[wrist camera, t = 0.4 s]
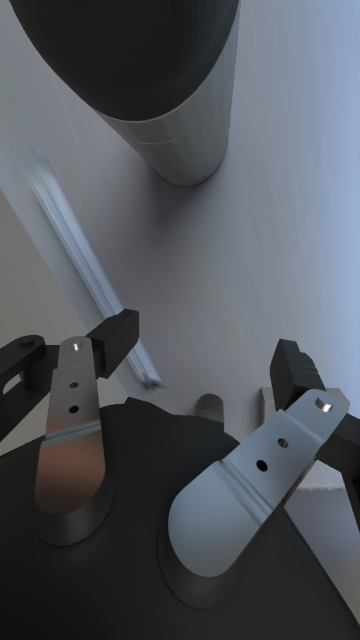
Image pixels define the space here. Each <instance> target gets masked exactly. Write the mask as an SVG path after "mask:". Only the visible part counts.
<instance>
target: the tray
mask: <svg viewBox="0 0 360 640" xmlns="http://www.w3.org/2000/svg"><path fill="white" fill-rule="evenodd" d="M325 389H326V391H327V392H328V393H330V394H331V395H333V396H335V397H336V398H337V399H338V400H340V401H341V402H342V404H343V405H344V406H345V409H346V413H348V410H349V405H350V402H349V401H348V400H347V398H346V397H345V396H344V395H343V393H342V392H341V391H340V389H339V388H325ZM275 413H276V409H275V403H274V397H273V390H272V388H261V425H262V424H263V423H265V422H266V421H267V420H268V419H269V418H270V417H271V416H272V415H274V414H275Z"/></svg>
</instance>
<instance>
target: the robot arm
mask: <svg viewBox="0 0 360 640" xmlns="http://www.w3.org/2000/svg"><path fill="white" fill-rule="evenodd" d="M9 1H10V3H11V5H12V8H13V10H14V12H15V14H16V16H17V18H18V20H19V22H20V24H21V25H22V27H23V29H24V31H25V33H26V34H27V36H28V37H29V39H30V41H31V42H32V44H33V45H34V47H35V48H36V50H37V51H38V52H39V54H40V55H41V56H42V58H43V59H44V60H45V62H46V63H47V64H48V65H49V66H50V67H51V68H52V70H53V71H54V72H55V73H56V74H57V75H58V76H59V77H60V78H61V79H62V80H63V81H64V82H65V83H66V84H67V85H68V86H69V87H70V88H71V89H72V90H73V91H74V92H75V93H76V94H77V95H78V96H79V97H80V98H81V99H82V100H84V101H85V102H86V103H87V104H88V105H89V106H90V107H91V108H92V109H93V110H94V111H95V112H96V113H97V114H98V115H99V116H100V117H101V118H102V119H103V120H104V121H105V122H107V123H108V124H109V125H110V126H111V127H112V128H113V129H114V130H115V131H116V132H117V133H118V134H119V135H120V136H121V137H122V138H123V139H124V140H125V141H126V142H127V143H128V144H129V145H130V146H131V147H132V148H133V149H134V150H135V151H136V152H138V153H139V154H140V155H141V156H142V157H143V158H144V159H145V160H146V161H147V162H148V163H149V164H150V165H151V166H152V167H153V168H154V169H155V170H156V171H157V172H158V173H159V174H160V175H161V176H162V177H163V178H165V179H166V180H167V181H168V182H170V183H173V184H175V185H179V186H193V185H196V184H199V183H201V182H203V181H205V180H206V179H208V178H209V177H210V176H211V175H212V174H213V173H214V172H215V171H216V169H217V168H218V167H219V165H220V163H221V161H222V159H223V157H224V154H225V151H226V148H227V142H228V134H229V126H230V115H231V105H232V94H233V84H234V73H235V63H236V52H237V42H238V28H239V17H240V7H241V0H9ZM138 338H139V312H138V311H135V310H130V309H124V310H123V311H122V312H121V313H119V314H118V315H114V316H112V317H109V318H107V319H106V320H105V321H103V323H101V324H100V325H98V326H97V327H96V328H95V329H93V330H92V331H91V332H90V333H88V334H87V335H86V336H85V337H84V336H75V337H71V338H68V339H66V340H64V341H63V342H62V343H61V344H60V345H45V341H44V338H43V337H41V336H39V335H28V336H23V337H20V338H18V339H15V340H14V341H12V342H10V343H9V344H7V345H6V346H4V347H2V348H1V349H0V442H1V441H2V440H3V439H4V438H5V437H6V436H7V435H8V434H9V433H10V432H11V431H12V430H13V429H14V427H16V426H17V425H18V423H20V421H21V420H22V419H23V418H24V417H25V416H26V415H27V414H28V413H29V412H30V411H31V410H32V409H33V408H34V407H35V406H36V405H37V404H38V403H39V402H40V401H41V400H42V399H43V398H44V397H45V396H46V395H47V394H48V393H49V392H50V391H51V392H50V400H49V408H48V417H47V425H46V433H45V435H43V436H41V437H39V438H37V439H34V440H32V441H30V442H28V443H26V444H24V445H22V446H20V447H18V448H16V449H14V450H12V451H10V452H8V453H6V454H3V455H2V456H0V640H360V625H359V623H358V622H357V620H356V618H355V617H354V615H353V613H352V611H351V610H350V609H349V607H348V606H347V604H346V602H345V601H344V599H343V598H342V596H341V595H340V593H339V591H338V590H337V588H336V587H335V585H334V584H333V582H332V581H331V579H330V577H329V576H328V574H327V573H326V571H325V570H324V568H323V567H322V565H321V564H320V562H319V561H318V559H317V557H316V556H315V554H314V553H313V551H312V550H311V548H310V547H309V545H308V544H307V542H306V541H305V539H304V537H303V536H302V534H301V533H300V531H299V530H298V528H297V527H296V525H295V524H294V522H293V521H292V519H291V517H290V516H289V514H288V513H287V511H286V510H285V508H284V507H285V505H286V504H287V502H288V501H289V499H290V498H291V496H292V494H293V493H294V492H295V490H296V489H297V487H298V486H299V485H300V483H301V482H302V480H303V479H304V478H305V476H306V475H307V473H308V472H309V471H310V469H311V468H312V466H313V465H314V464H315V462H316V461H317V459H318V460H319V461H321V462H323V463H325V464H327V465H328V466H330V467H332V468H334V469H336V470H337V471H339V472H341V474H342V477H343V481H344V484H345V487H346V490H347V493H348V497H349V500H350V503H351V506H352V510H353V513H354V516H355V519H356V523H357V526H358V529H359V532H360V419H358V418H356V417H354V416H352V415H350V414H348V413H346V409H345V406H344V405H343V404H342V402H341V401H340V400H338V399H337V398H336V397H335V396H333V395H331V394H330V393H328V392H327V391H326V389H325V387H324V384H323V382H322V380H321V378H320V376H319V374H318V371H317V369H316V368H315V365H314V362H313V360H312V359H311V358H310V357H309V356H308V355H307V354H306V353H303V352H300V350H299V348H298V345H297V343H296V342H295V341H290V340H285V339H280V340H279V341H278V344H277V347H276V350H275V353H274V356H273V359H272V361H271V365H270V378H271V384H272V390H273V397H274V403H275V409H276V413H275V414H274V415H272V416H271V417H270V418H269V419H268V420H267V421H266V422H265V423H263V424H262V425H261V426H260V427H259V428H258V429H257V430H256V431H254V432H253V433H252V434H251V435H250V436H249V437H248V438H247V439H245V440H244V441H243V442H242V443H241V444H240V443H239V442H238V441H237V440H236V439H234V438H233V437H232V436H230V435H229V434H227V433H225V432H224V423H223V422H219V421H215V420H212V419H208V418H204V417H201V416H187V415H173V414H170V413H168V412H166V411H164V410H163V409H161V408H159V407H157V406H155V405H153V404H152V403H149V402H146V401H142V400H138V399H135V398H131V397H128V398H127V400H126V401H125V403H124V404H114V405H108V406H105V407H102V408H100V406H99V398H98V389H97V381H96V380H97V379H98V378H99V377H102V378H106V379H108V378H109V377H110V375H111V374H112V373H113V372H114V370H115V369H116V368H117V367H118V366H119V364H120V363H121V362H122V361H123V359H124V358H125V357H126V356H127V354H128V353H129V352H130V351H131V349H132V348H133V347H134V346H135V344H136V343H137V341H138ZM18 373H19V376H20V379H21V381H20V382H19V383H18V384H16V385H15V386H14V387H13V388H12V389H11V390H9V391H8V392H7V393H6V394H3V389H4V386H5V385H6V383H7V382H8V381H10V380H11V379H12V378H13V377H15V376H16V375H17V374H18Z"/></svg>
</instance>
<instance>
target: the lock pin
mask: <svg viewBox="0 0 360 640" xmlns="http://www.w3.org/2000/svg"><path fill="white" fill-rule="evenodd" d="M196 416H201V417H204V418H208V419H212V420H215V421H219V422H223V423H224V411H223V401H222V400H221V399H220V398H219V397H218V396H216V395H213V394H206V395H203V396H201V397H200V399H199V400H198V407H197V415H196Z"/></svg>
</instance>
